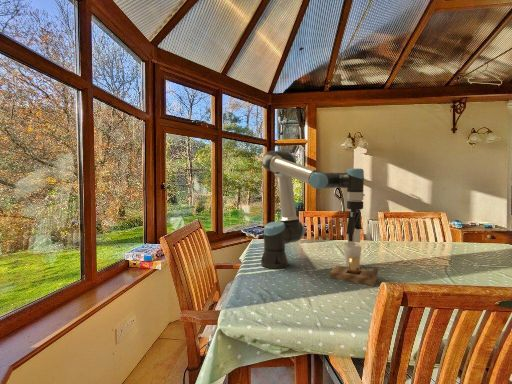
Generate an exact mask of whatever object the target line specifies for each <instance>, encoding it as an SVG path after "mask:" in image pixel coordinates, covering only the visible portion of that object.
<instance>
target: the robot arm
mask: <svg viewBox="0 0 512 384" xmlns="http://www.w3.org/2000/svg"><path fill="white" fill-rule="evenodd" d="M261 163H262V167H263V168H264V169H265V170H267V171H269V172H272V173H273V174H274V176H275V178H277V187H278V195H279V203H280V205H279V206H280V214H281V218H280V219H279V221H270V222H268V223H266V224H265V225H264V228H263V248H264V249H263V254H262V255H261V256H262V257H261V259H260V265H261V267H263V268H267V269H272V270H273V269H274V270H276V269H277V270H278V269H284V268H287V267H288V266H289V260H288V256H287V253H286V245H287V244H291V243H296V242H298V241H301V240H302V238H303V237H304V236H305V225H303V223H302V222H300V217H298V216H297V210H296V201H295V193H294V192H295V191H294V185H293V179H296V180H298V181H301V182H303V183H306V184H308V185H310V186H311V188H313V189H317V190H323V189H346V200H347V201H346V209H347V210H350V211H349V212H348V220H347V221H348V222H347V228H346V229H347V230H346V232H345V234H347V243H348V248H354V243H358V244H360V243H361V230H363V227H362V217H361V210H363V209H364V201H363V200H364V197H365V196H366V195H365V193H364V185H365V174H364V173H365V172H364V169H363V168H347V170H346V172H323V171H319V170H316V169H313V168H311V167H309V166H305V165H302V164H300V163H297V158H296V156H295V155H294V154H293V153H292V152H288V151H286V150H285V151H284V150H283V151H278V150H271V151H270V150H269V151H267V152H265V153H264V154H263V156H262V159H261Z"/></svg>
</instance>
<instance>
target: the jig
mask: <svg viewBox="0 0 512 384" xmlns="http://www.w3.org/2000/svg"><path fill="white" fill-rule="evenodd" d="M378 272H379V267H376V266H375V267H374V266H373V269H372V270H369V269H364V268H363V269H362V268H360V270H359V275H357V274H351V273H349V267H348V266H343V265H336V266H334V267H333V268H332V269H331V270H330V271H329V279H333V280H339V281H344V282H349V283H356V284H360V285H365V286H371V287H374V286H375V284H376V282H377V281H378V278H379V276H378V275H379V273H378Z"/></svg>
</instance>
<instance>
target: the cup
mask: <svg viewBox="0 0 512 384" xmlns="http://www.w3.org/2000/svg"><path fill="white" fill-rule="evenodd" d="M343 250H344V252H343V253H344V259H345V267H349V257H350V256H356V257H359V258H360V259H361V255H362V244H360V243H358V242H354V248H348V242H345V243H344V246H343Z"/></svg>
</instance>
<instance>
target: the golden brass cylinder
mask: <svg viewBox="0 0 512 384" xmlns="http://www.w3.org/2000/svg"><path fill="white" fill-rule="evenodd" d="M360 261H361V257H360V258H359V257H356V256H350V257H349V273H351V274H357V275H359V270H360V269H361V268H360V266H361V265H360V263H361V262H360Z"/></svg>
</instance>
